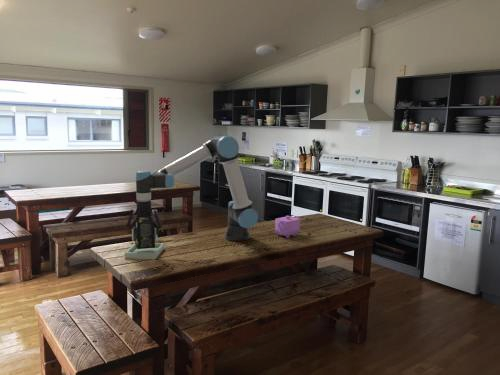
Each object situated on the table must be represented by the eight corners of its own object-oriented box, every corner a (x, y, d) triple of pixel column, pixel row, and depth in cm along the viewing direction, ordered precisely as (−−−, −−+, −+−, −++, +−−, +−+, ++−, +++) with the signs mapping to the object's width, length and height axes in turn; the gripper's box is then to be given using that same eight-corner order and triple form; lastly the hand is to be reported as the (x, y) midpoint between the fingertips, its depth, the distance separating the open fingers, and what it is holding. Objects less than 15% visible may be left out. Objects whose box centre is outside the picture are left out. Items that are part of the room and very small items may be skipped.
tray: (164, 248, 237) (163, 243, 237) (155, 259, 219) (155, 253, 219) (135, 247, 238) (135, 242, 237) (124, 258, 220) (124, 252, 220)
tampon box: (134, 243, 231) (133, 217, 229) (151, 242, 235) (151, 216, 232) (137, 249, 221) (136, 222, 219) (155, 248, 225) (154, 221, 222)
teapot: (283, 239, 259) (284, 219, 257) (272, 235, 267) (272, 216, 265) (305, 234, 272) (306, 215, 270) (294, 230, 280) (294, 212, 278)
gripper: (167, 199, 227) (168, 238, 231) (124, 198, 228) (125, 237, 232) (164, 202, 220) (165, 242, 223) (119, 200, 221) (120, 241, 224)
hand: (144, 240), depth 227 cm, fingers closed on tampon box, 11 cm apart
